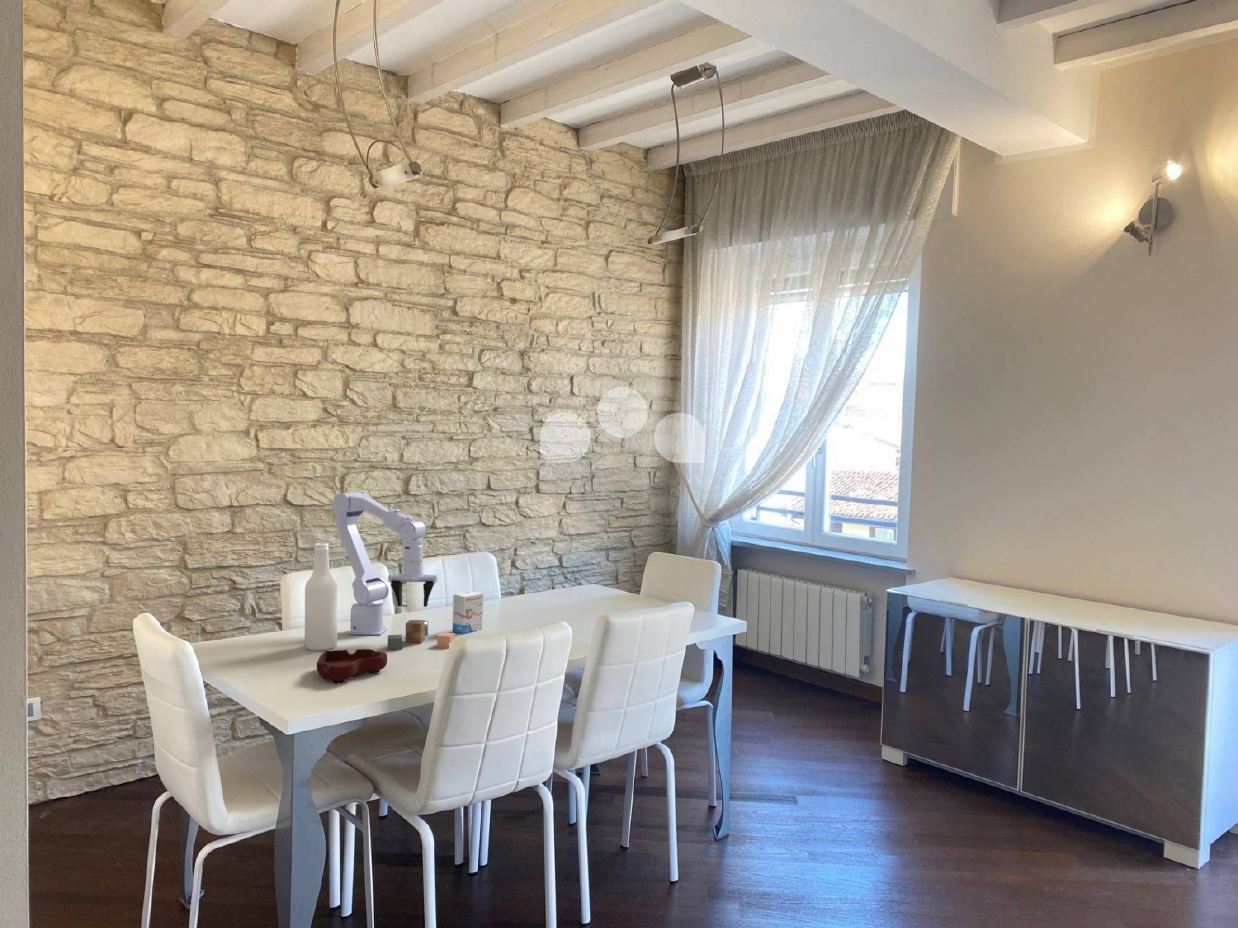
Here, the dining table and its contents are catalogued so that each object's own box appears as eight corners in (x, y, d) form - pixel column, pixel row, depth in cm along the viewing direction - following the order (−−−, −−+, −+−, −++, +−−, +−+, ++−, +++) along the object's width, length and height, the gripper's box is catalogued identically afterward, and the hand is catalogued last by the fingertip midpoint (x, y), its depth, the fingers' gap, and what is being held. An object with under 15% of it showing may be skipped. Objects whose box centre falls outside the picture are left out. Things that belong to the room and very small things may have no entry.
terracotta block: (436, 647, 258) (437, 635, 258) (442, 643, 262) (442, 632, 262) (450, 648, 257) (450, 636, 257) (454, 644, 261) (455, 633, 261)
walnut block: (405, 643, 262) (405, 623, 261) (409, 639, 266) (409, 619, 266) (421, 643, 261) (421, 623, 261) (424, 639, 266) (424, 620, 266)
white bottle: (299, 650, 251) (300, 545, 249) (311, 643, 259) (311, 541, 258) (330, 651, 250) (331, 546, 249) (341, 643, 259) (341, 541, 258)
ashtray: (351, 661, 242) (351, 643, 242) (393, 672, 233) (393, 653, 233) (295, 676, 227) (295, 657, 227) (337, 688, 218) (337, 668, 218)
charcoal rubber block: (387, 650, 253) (387, 638, 253) (387, 647, 257) (387, 635, 257) (402, 650, 254) (402, 637, 254) (401, 646, 258) (401, 634, 258)
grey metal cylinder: (413, 636, 270) (413, 623, 270) (416, 633, 274) (416, 620, 274) (426, 636, 270) (426, 623, 270) (429, 633, 274) (429, 620, 274)
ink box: (463, 634, 274) (463, 596, 273) (451, 631, 277) (452, 594, 276) (483, 629, 281) (483, 592, 280) (472, 626, 284) (472, 590, 283)
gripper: (385, 562, 262) (385, 608, 263) (434, 563, 262) (434, 609, 263) (391, 558, 269) (391, 603, 270) (439, 559, 269) (438, 604, 270)
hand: (412, 605), depth 267 cm, fingers open, 7 cm apart
